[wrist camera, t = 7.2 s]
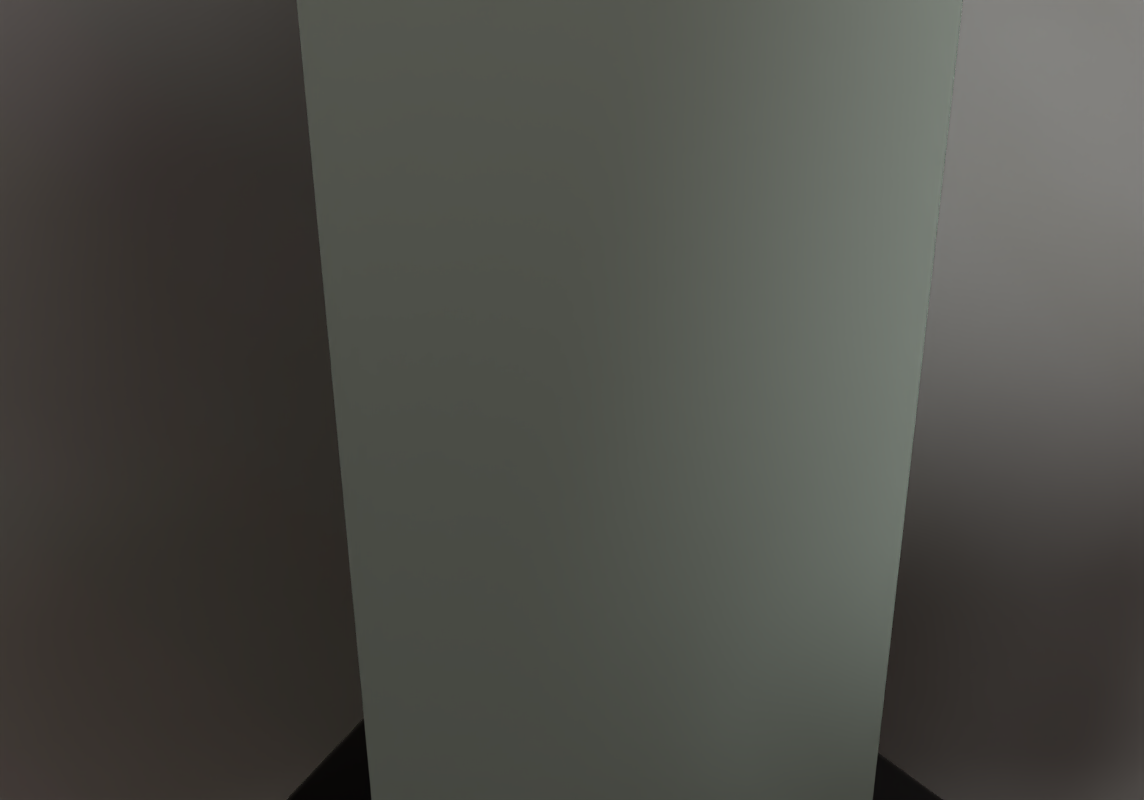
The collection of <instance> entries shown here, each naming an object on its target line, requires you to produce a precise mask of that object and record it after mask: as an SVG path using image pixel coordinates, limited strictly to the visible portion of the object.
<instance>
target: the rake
mask: <svg viewBox="0 0 1144 800" xmlns="http://www.w3.org/2000/svg"><path fill="white" fill-rule="evenodd" d="M962 4H963V0H297V11H298V22H299V32H300V43H301V53H302V64H303V75H304V85H305V96H306V107H307V117H308V128H309V139H310V149H311V160H312V171H313V181H314V192H315V203H316V213H317V224H318V235H319V245H320V256H321V267H322V277H323V288H324V298H325V309H326V320H327V330H328V341H329V352H330V362H331V373H332V384H333V394H334V405H335V416H336V426H337V437H338V448H339V458H340V469H341V480H342V490H343V501H344V511H345V522H346V533H347V543H348V554H349V565H350V575H351V586H352V597H353V607H354V618H355V629H356V639H357V650H358V661H359V671H360V682H361V693H362V703H363V714H364V725H365V735H366V746H367V756H368V767H369V778H370V788H371V799H372V800H873V791H874V783H875V774H876V765H877V756H878V747H879V738H880V730H881V721H882V712H883V703H884V694H885V685H886V676H887V668H888V659H889V650H890V641H891V632H892V623H893V615H894V606H895V597H896V588H897V579H898V570H899V561H900V553H901V544H902V535H903V526H904V517H905V508H906V500H907V491H908V482H909V473H910V464H911V455H912V447H913V438H914V429H915V420H916V411H917V402H918V393H919V385H920V376H921V367H922V358H923V349H924V340H925V332H926V323H927V314H928V305H929V296H930V287H931V278H932V270H933V261H934V252H935V243H936V234H937V225H938V217H939V208H940V199H941V190H942V181H943V172H944V164H945V155H946V146H947V137H948V128H949V119H950V110H951V102H952V93H953V84H954V75H955V66H956V57H957V49H958V40H959V31H960V22H961V13H962Z"/></svg>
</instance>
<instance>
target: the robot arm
mask: <svg viewBox="0 0 1144 800" xmlns="http://www.w3.org/2000/svg"><path fill="white" fill-rule="evenodd" d="M287 800H372V799H371V788H370V778H369V767H368V756H367V746H366V735H365V725H364V718H363V719H362V721H361V722H360V723H359V724H358V725H357V726H356V727H355V728H354V729H353V730H352V731H351V732H350V733H349V734H348V735H347V736H346V737H345V738H344V739H343V741H342V742H341V743H340V744H339V745H338V746H337V747H336V748H335V749H334V750H333V751H332V752H331V753H330V754H329V755H328V756H327V757H326V758H325V760H324V761H323V762H322V763H321V764H320V765H319V766H318V767H317V768H316V769H315V770H314V771H313V772H312V773H311V774H310V775H309V776H308V777H307V778H306V780H305V781H304V782H303V783H302V784H301V785H300V786H299V787H298V788H297V789H296V790H295V791H294V792H293V793H292V794H291V795H290V796H289V797H288V799H287ZM873 800H942V799H941V798H940V797H938V796H937V795H936V794H934V793H933V792H931V791H930V790H929V789H927V788H926V787H925V786H923V785H922V784H920V783H919V782H918V781H916V780H915V779H914V778H912V777H911V776H909V775H908V774H907V773H905V772H904V771H903V770H901V769H900V768H898V767H897V766H896V765H894V764H893V763H892V762H890V761H889V760H887V759H886V758H885V757H883V756H882V755H881V754H879V753H878V756H877V765H876V774H875V783H874V791H873Z"/></svg>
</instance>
